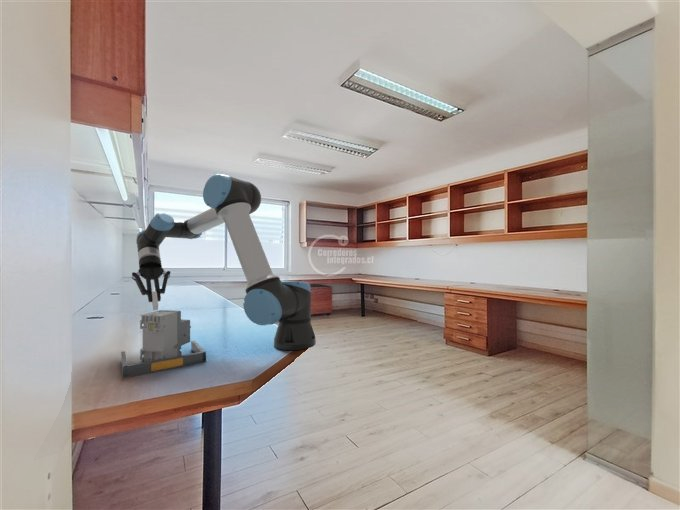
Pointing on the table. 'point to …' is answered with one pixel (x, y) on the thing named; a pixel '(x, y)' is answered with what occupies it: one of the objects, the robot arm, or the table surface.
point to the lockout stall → (163, 362)
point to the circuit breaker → (163, 334)
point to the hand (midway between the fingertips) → (155, 307)
